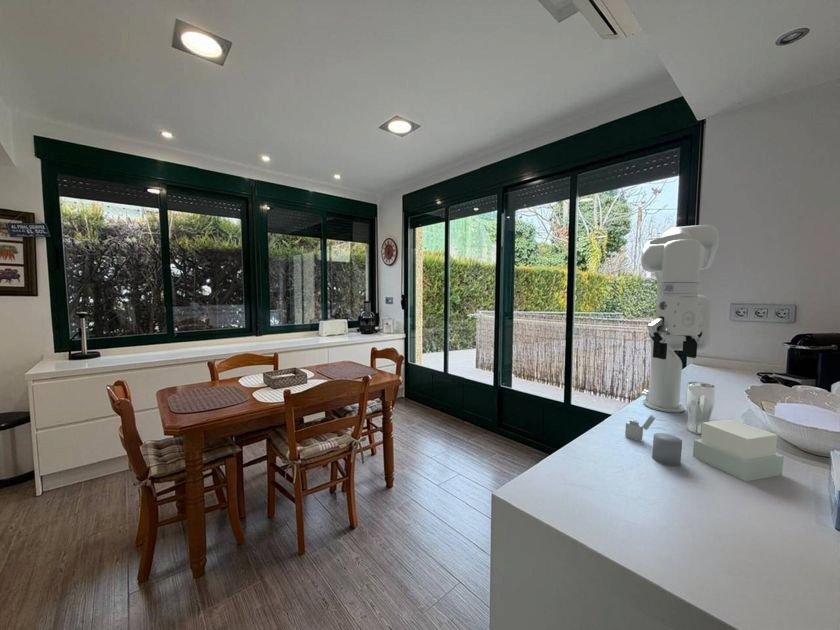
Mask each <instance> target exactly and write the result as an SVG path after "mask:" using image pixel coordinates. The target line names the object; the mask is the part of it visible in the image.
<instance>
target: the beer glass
mask: <svg viewBox="0 0 840 630" xmlns="http://www.w3.org/2000/svg"><path fill="white" fill-rule="evenodd" d="M685 393H686V394H685V403H686V410H687V422H686V425H685V430H686V431H687V432H689V433H692V434H695V435H699V436H701V435H702V423H703V422H711V418H712V414H713V412H714V408H715V402H716V386H715V385H713V384H711V383H706V382H700V381H688V382H687V387H686V392H685Z"/></svg>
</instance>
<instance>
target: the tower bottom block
mask: <svg viewBox="0 0 840 630" xmlns="http://www.w3.org/2000/svg"><path fill="white" fill-rule="evenodd" d="M692 448H693V450H692V457H693V458H695V459H698V460H699V461H700V462H703V463H705V464H708V465H710V466H712V467H714V468H716V469H718V470H720V471H723V472H724V473H727V474H729V475H731V476H733V477H735V478H737V479H740V480H742V481H744V482H750V481H754V480H755V481H756V480H761V479H767V478H772V477H776V476H777V477H778V476H782V475H783V470H784V469H783V468H784V460H785V459H784V458H785V457H784V455H781V454H779V453H776V455H771V456H765V457H759V458H753V459H747V460H745V459H743V458H740V457H738V456H735V455H733V454H731V453H728V452H726V451H724V450H721V449H719V448H716V447H714V446H712V445H709V444H707V443H705V442H702V441H701V438H697V439H693V447H692Z"/></svg>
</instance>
